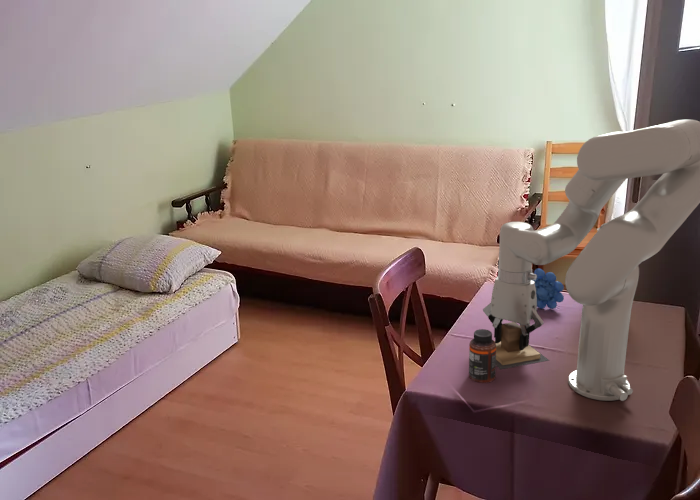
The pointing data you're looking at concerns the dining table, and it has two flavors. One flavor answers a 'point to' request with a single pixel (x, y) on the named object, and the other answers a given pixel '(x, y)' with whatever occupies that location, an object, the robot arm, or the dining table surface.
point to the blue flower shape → (547, 289)
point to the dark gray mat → (521, 362)
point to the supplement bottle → (482, 357)
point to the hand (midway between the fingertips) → (511, 344)
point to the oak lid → (513, 346)
